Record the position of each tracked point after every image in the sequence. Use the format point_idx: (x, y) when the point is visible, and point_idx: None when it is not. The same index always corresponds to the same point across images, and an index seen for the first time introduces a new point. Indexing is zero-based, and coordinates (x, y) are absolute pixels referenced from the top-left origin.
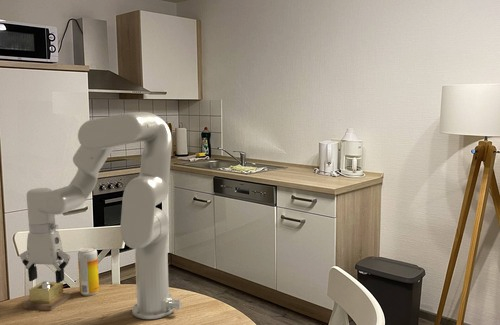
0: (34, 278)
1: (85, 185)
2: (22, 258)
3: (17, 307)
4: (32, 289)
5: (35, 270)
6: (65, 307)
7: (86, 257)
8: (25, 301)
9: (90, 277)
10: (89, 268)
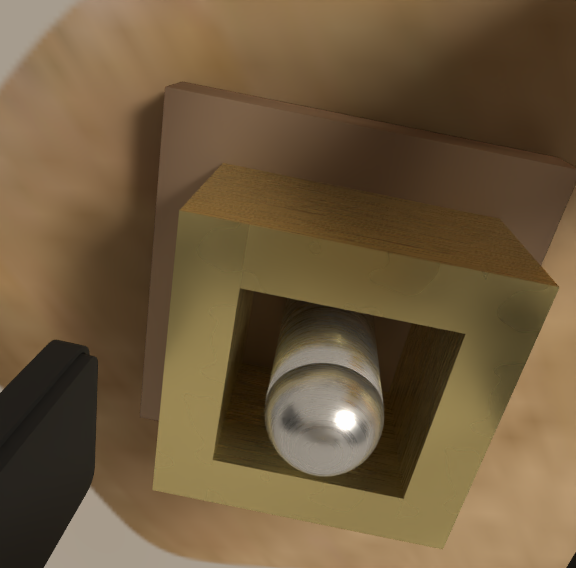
0: (86, 424)
1: None
2: None
3: (99, 374)
4: (194, 490)
5: (7, 506)
6: (561, 393)
7: None
8: (143, 381)
9: None
10: None
